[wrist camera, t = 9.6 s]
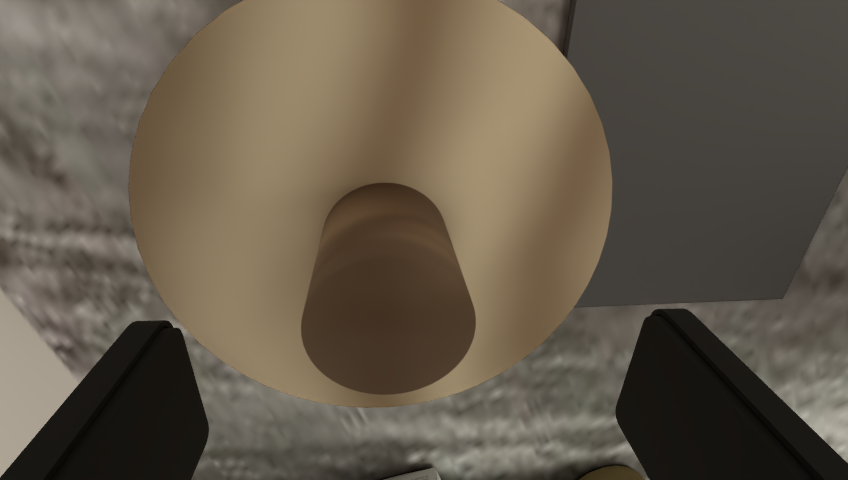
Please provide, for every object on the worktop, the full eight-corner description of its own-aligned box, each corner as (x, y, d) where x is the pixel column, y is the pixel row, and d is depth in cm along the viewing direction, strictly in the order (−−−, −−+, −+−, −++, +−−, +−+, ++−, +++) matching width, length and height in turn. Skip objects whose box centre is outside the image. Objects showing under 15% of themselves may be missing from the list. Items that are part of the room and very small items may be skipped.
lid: (643, -19, 12) (831, -44, 7) (557, 374, 19) (622, 501, 14) (76, -40, 11) (-186, -89, 6) (203, 395, 18) (135, 548, 13)
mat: (920, -6, 19) (933, -7, 19) (775, 294, 26) (782, 298, 26) (575, -21, 17) (580, -22, 17) (522, 304, 25) (525, 309, 24)
